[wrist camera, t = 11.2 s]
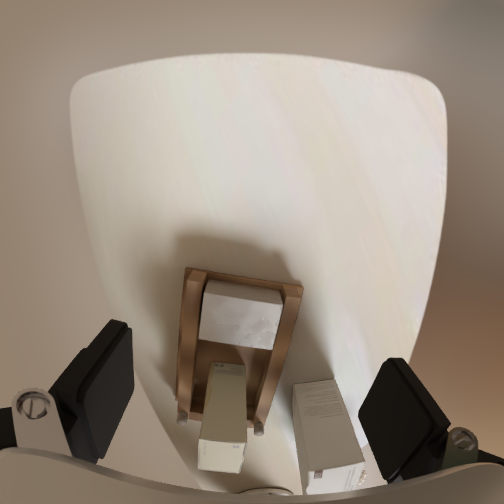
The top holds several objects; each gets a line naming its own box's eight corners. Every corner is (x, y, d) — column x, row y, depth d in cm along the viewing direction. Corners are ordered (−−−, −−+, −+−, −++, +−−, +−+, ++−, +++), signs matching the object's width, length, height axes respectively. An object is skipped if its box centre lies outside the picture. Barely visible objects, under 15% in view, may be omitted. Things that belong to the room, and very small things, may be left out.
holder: (267, 411, 35) (269, 437, 31) (176, 397, 35) (168, 423, 30) (302, 286, 31) (312, 305, 26) (186, 267, 30) (175, 284, 25)
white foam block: (269, 331, 31) (272, 349, 28) (203, 321, 31) (198, 338, 27) (278, 290, 30) (283, 305, 26) (209, 278, 30) (204, 292, 26)
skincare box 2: (330, 416, 36) (355, 496, 22) (290, 422, 36) (303, 506, 22) (335, 375, 34) (370, 462, 20) (289, 381, 34) (308, 475, 20)
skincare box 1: (210, 359, 32) (196, 436, 21) (247, 364, 33) (248, 442, 21) (207, 396, 34) (195, 470, 22) (241, 400, 34) (240, 475, 22)
